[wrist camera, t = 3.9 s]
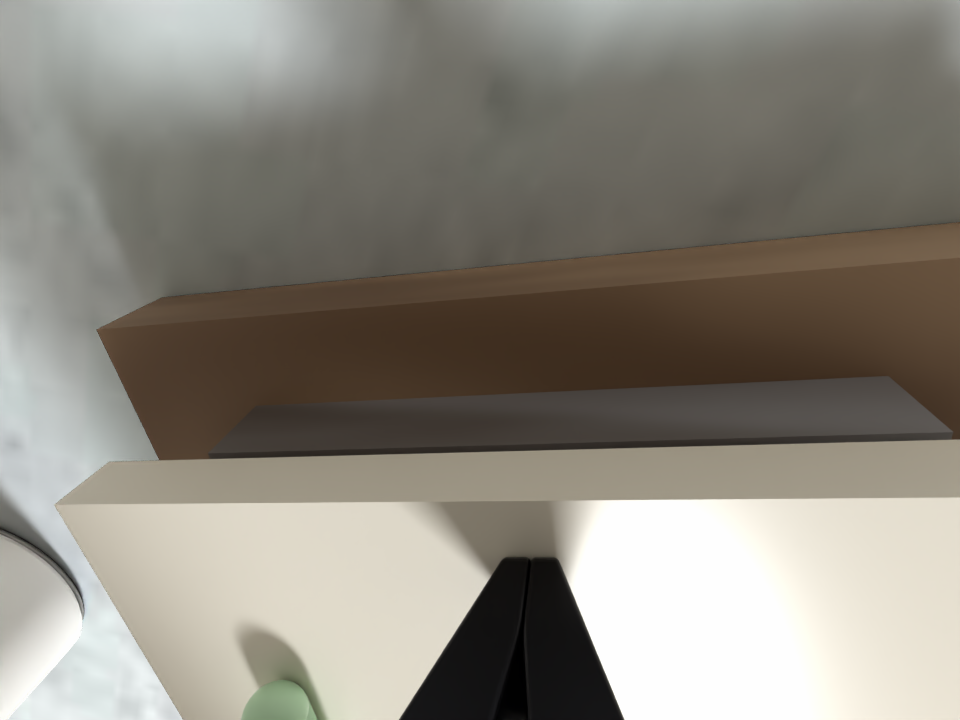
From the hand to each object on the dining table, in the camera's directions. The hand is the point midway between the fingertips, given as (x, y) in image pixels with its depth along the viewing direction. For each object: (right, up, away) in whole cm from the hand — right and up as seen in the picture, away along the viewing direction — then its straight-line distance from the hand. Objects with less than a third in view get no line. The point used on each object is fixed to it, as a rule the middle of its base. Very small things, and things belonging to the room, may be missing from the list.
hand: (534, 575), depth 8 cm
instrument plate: (+1, -5, +4) cm, 6 cm away
